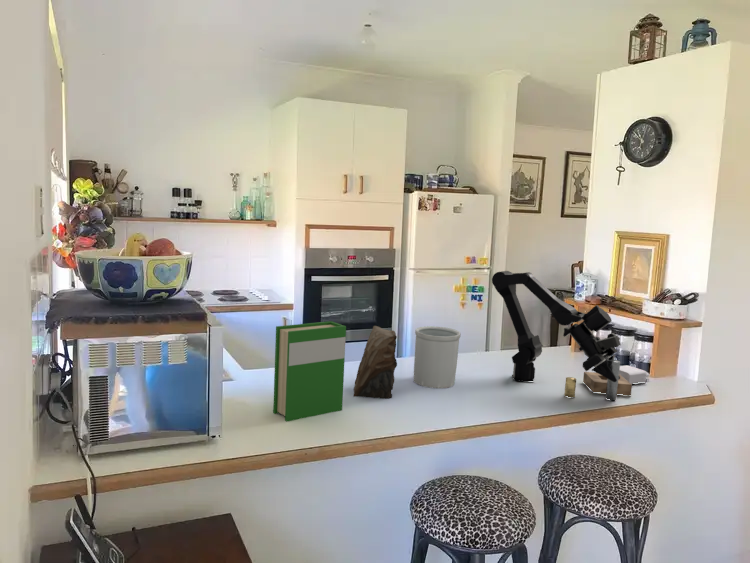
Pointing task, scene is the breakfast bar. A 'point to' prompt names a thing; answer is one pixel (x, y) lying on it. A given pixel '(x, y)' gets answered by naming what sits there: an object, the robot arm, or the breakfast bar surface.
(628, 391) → the walnut hole block
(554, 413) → the breakfast bar surface
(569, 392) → the short brass pin
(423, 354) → the utensil holder
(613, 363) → the long steel pin
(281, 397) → the hardback book
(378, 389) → the brown rock
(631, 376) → the charger
